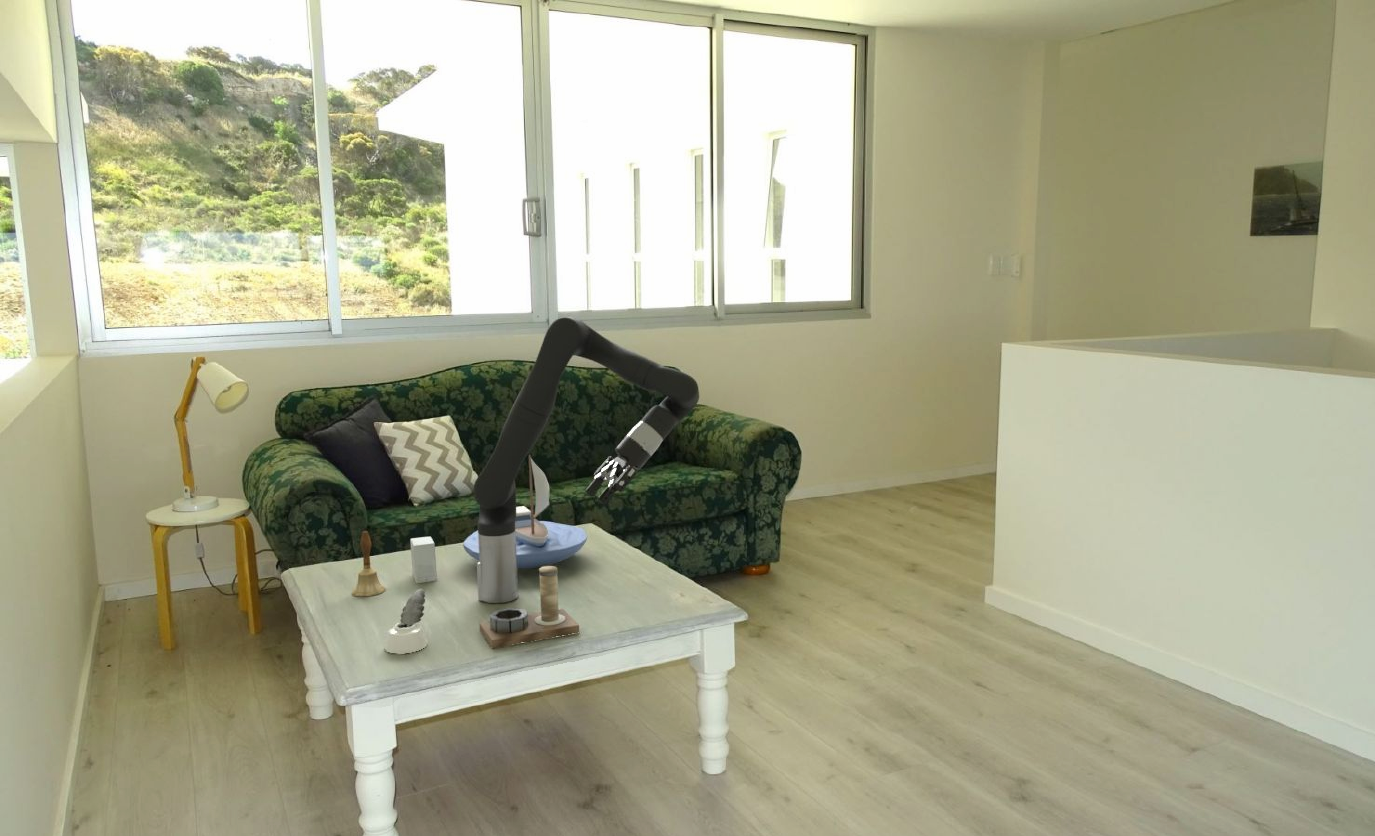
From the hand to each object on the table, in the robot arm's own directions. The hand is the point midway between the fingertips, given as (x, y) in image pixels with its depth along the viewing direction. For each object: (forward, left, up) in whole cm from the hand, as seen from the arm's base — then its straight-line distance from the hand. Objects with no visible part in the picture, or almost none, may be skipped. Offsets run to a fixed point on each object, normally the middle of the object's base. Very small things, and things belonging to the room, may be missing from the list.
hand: (594, 498), depth 227 cm
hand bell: (-65, +14, -30) cm, 73 cm away
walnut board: (-14, -9, -29) cm, 34 cm away
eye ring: (-18, -12, -27) cm, 35 cm away
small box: (-55, +26, -30) cm, 67 cm away
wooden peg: (-10, -6, -27) cm, 30 cm away
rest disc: (-10, -7, -27) cm, 30 cm away
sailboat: (-32, +43, -30) cm, 61 cm away
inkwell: (-39, -17, -30) cm, 52 cm away
